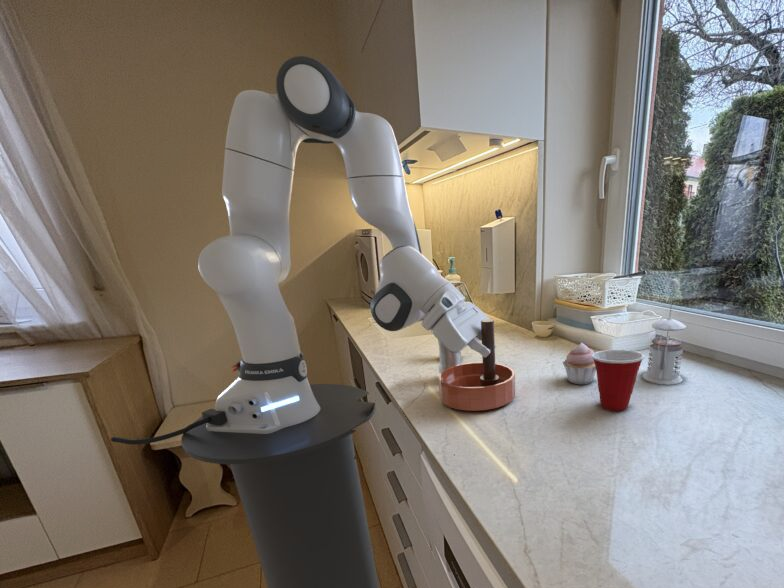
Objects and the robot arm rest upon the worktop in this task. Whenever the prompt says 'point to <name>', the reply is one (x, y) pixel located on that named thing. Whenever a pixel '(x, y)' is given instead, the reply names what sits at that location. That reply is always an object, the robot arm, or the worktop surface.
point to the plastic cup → (616, 376)
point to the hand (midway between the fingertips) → (491, 352)
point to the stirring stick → (489, 361)
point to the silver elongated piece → (448, 358)
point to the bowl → (475, 387)
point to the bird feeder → (665, 352)
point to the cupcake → (580, 365)
